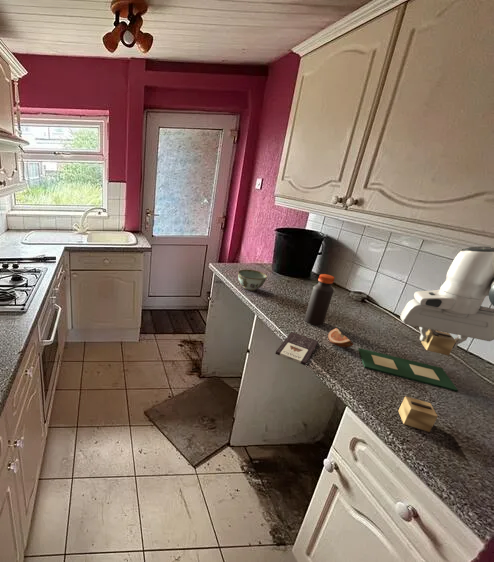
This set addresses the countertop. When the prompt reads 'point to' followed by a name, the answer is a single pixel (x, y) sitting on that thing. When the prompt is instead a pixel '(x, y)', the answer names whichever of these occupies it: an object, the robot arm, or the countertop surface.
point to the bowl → (251, 279)
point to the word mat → (406, 369)
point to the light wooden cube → (417, 414)
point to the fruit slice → (339, 338)
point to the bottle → (320, 300)
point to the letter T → (439, 342)
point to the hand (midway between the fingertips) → (436, 343)
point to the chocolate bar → (297, 348)
